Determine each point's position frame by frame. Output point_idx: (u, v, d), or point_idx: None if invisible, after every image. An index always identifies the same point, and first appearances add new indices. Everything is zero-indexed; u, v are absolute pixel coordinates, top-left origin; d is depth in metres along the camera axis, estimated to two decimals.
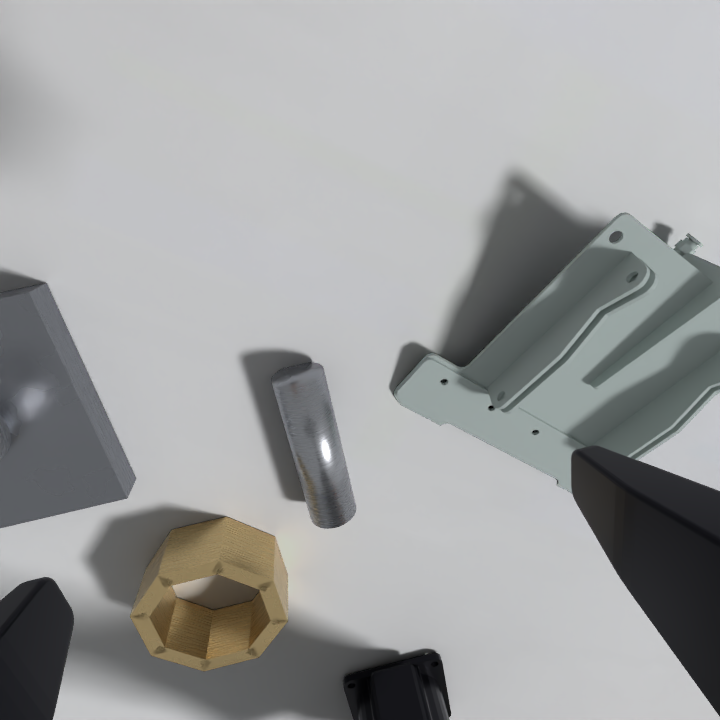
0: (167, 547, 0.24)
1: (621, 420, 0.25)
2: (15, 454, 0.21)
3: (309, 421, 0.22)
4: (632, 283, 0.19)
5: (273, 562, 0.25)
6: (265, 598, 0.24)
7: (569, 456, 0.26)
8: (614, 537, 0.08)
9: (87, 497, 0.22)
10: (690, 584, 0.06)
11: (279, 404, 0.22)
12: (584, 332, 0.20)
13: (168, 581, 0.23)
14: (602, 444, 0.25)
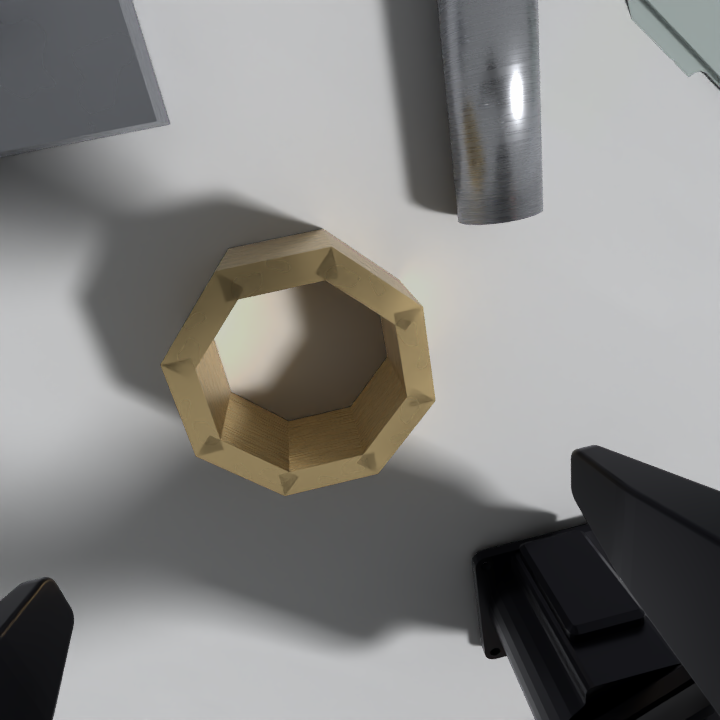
0: (226, 256, 0.13)
1: None
2: None
3: None
4: None
5: (411, 294, 0.14)
6: (404, 346, 0.13)
7: None
8: (614, 537, 0.08)
9: (80, 109, 0.12)
10: (690, 584, 0.06)
11: None
12: None
13: (234, 288, 0.12)
14: None
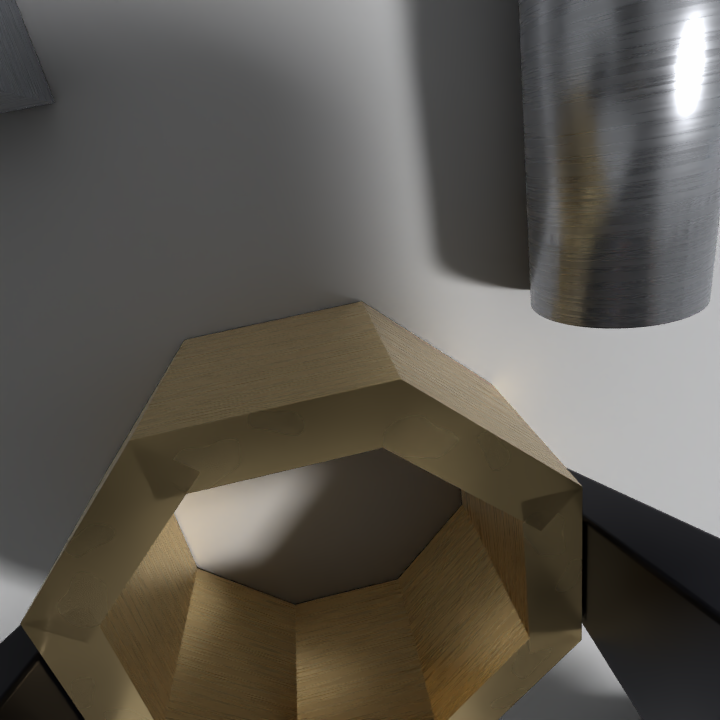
0: (172, 371, 0.07)
1: None
2: None
3: None
4: None
5: (537, 436, 0.07)
6: (535, 557, 0.07)
7: None
8: None
9: None
10: (621, 602, 0.06)
11: None
12: None
13: (176, 472, 0.05)
14: None
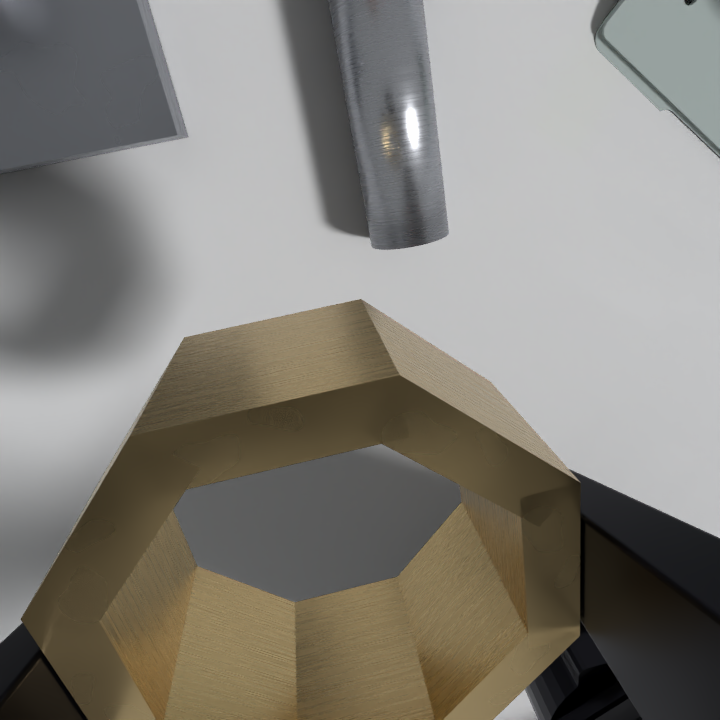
0: (172, 368, 0.07)
1: None
2: None
3: None
4: None
5: (536, 433, 0.07)
6: (533, 553, 0.07)
7: None
8: None
9: (107, 124, 0.12)
10: (621, 602, 0.06)
11: None
12: None
13: (176, 466, 0.05)
14: None
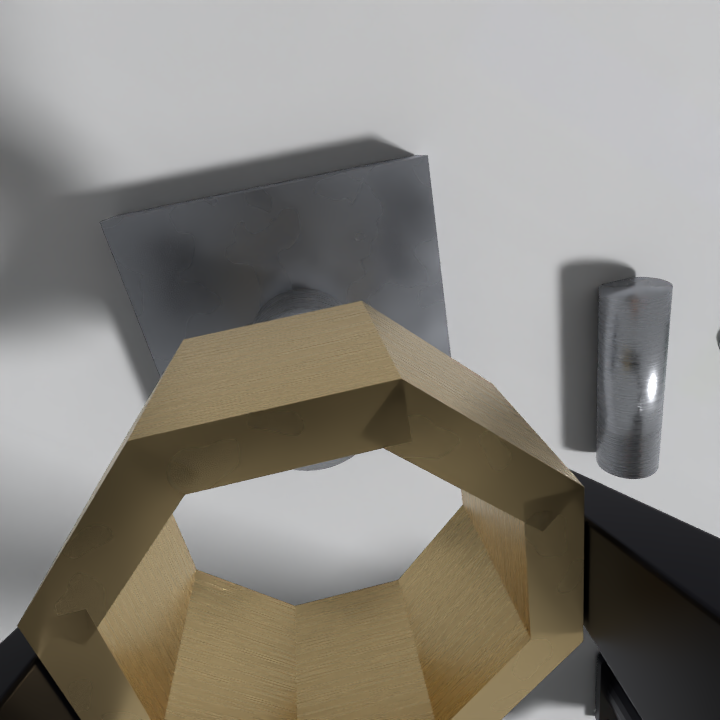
0: (170, 371, 0.07)
1: None
2: None
3: (606, 340, 0.19)
4: None
5: (538, 436, 0.07)
6: (536, 558, 0.06)
7: None
8: None
9: None
10: (621, 602, 0.06)
11: None
12: None
13: (175, 472, 0.05)
14: None
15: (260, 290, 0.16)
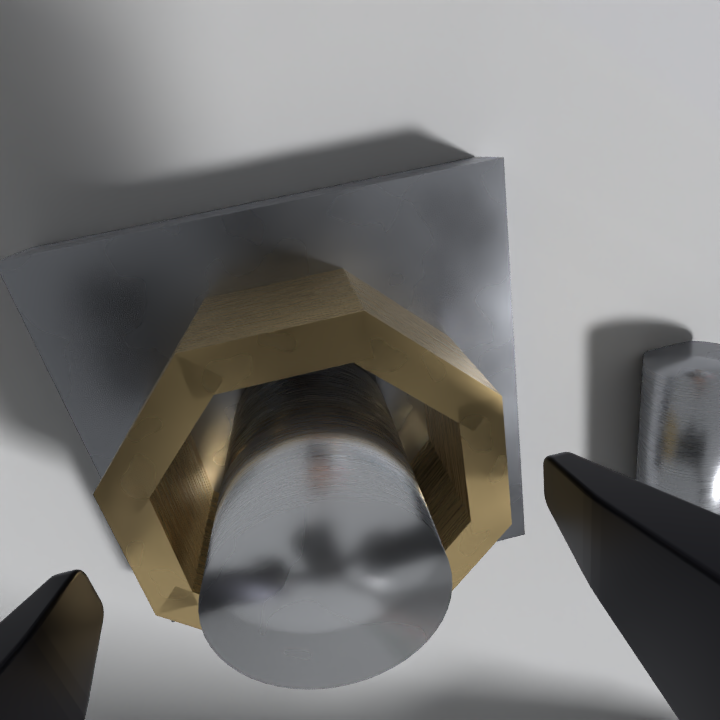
0: (198, 316, 0.09)
1: None
2: None
3: None
4: None
5: (476, 368, 0.09)
6: (470, 452, 0.09)
7: None
8: (584, 545, 0.08)
9: None
10: (653, 594, 0.06)
11: None
12: None
13: (207, 378, 0.08)
14: None
15: None
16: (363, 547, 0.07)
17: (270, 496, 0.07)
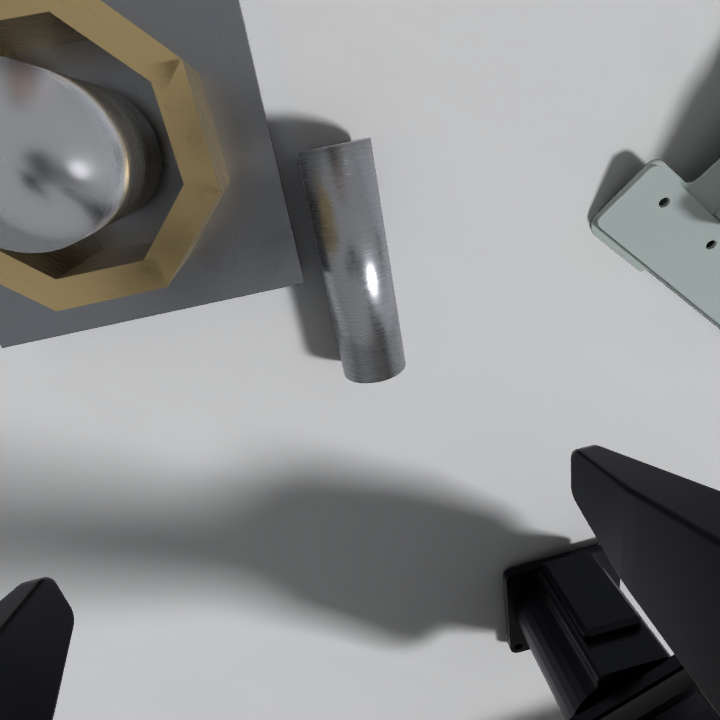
0: None
1: None
2: (165, 198, 0.15)
3: (340, 210, 0.15)
4: None
5: (187, 64, 0.12)
6: (167, 112, 0.11)
7: None
8: (614, 537, 0.08)
9: (252, 277, 0.16)
10: (690, 584, 0.06)
11: (304, 186, 0.16)
12: None
13: None
14: None
15: None
16: (24, 106, 0.09)
17: None
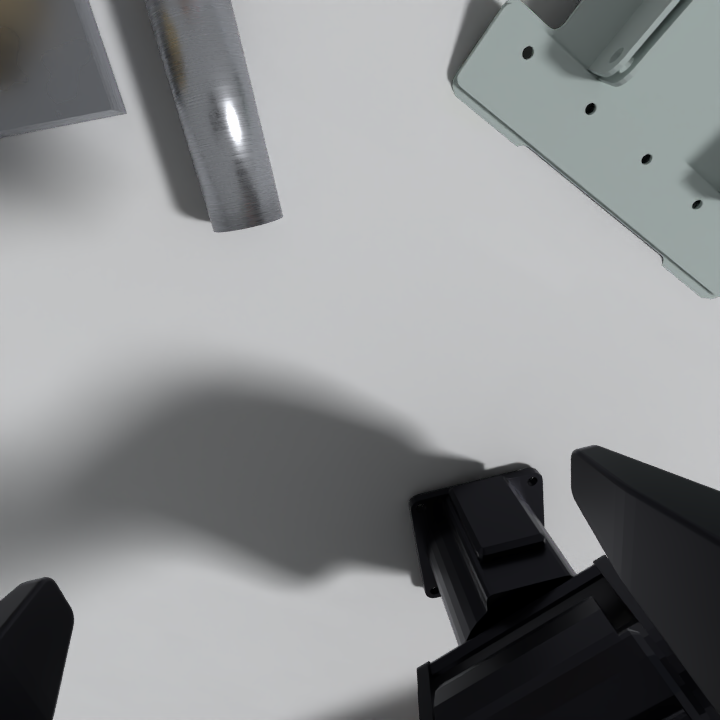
0: None
1: None
2: None
3: None
4: None
5: None
6: None
7: (687, 207, 0.19)
8: (614, 537, 0.08)
9: (48, 100, 0.14)
10: (690, 584, 0.06)
11: None
12: None
13: None
14: None
15: None
16: None
17: None
